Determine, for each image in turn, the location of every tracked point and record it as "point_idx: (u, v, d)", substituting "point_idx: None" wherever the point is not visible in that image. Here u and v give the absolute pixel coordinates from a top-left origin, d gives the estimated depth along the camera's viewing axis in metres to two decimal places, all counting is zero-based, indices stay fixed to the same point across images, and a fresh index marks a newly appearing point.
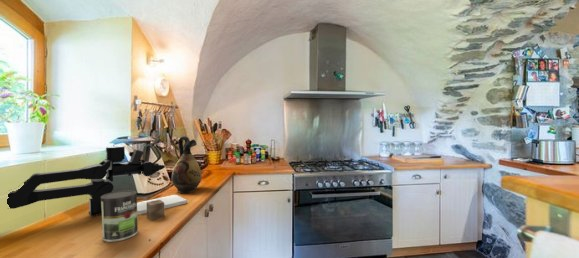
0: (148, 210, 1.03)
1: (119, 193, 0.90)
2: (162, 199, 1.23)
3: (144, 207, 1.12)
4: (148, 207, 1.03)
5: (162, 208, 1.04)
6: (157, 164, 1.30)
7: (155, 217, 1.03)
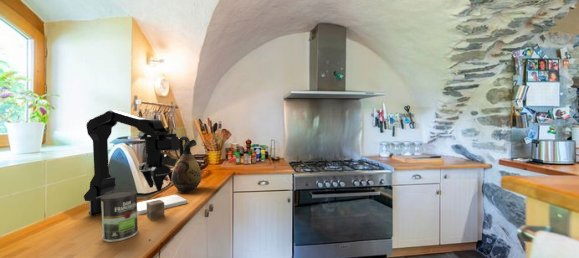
0: (148, 210, 1.03)
1: (119, 193, 0.90)
2: (162, 199, 1.23)
3: (144, 207, 1.12)
4: (148, 207, 1.03)
5: (162, 208, 1.04)
6: (151, 186, 1.08)
7: (155, 217, 1.03)
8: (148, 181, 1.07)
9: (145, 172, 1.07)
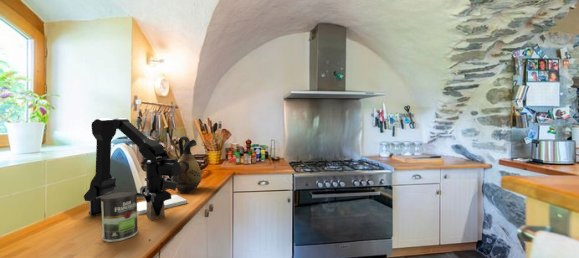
0: (148, 210, 1.03)
1: (119, 193, 0.90)
2: None
3: (144, 207, 1.12)
4: (148, 207, 1.03)
5: (162, 208, 1.04)
6: None
7: (155, 217, 1.03)
8: None
9: (147, 197, 1.06)
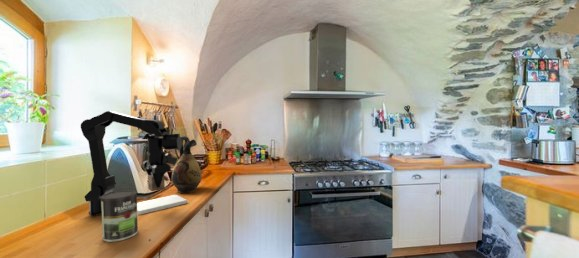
0: (149, 182, 1.10)
1: (119, 193, 0.90)
2: (162, 199, 1.23)
3: (144, 207, 1.12)
4: (149, 179, 1.10)
5: (162, 180, 1.11)
6: None
7: (156, 188, 1.09)
8: None
9: (149, 170, 1.12)
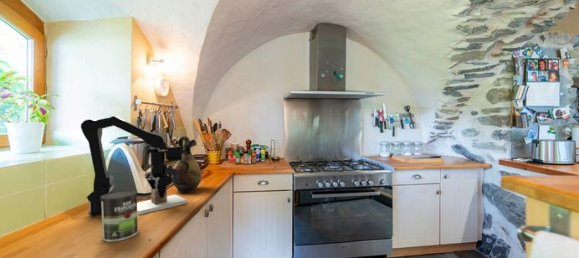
0: (152, 196, 1.17)
1: (119, 193, 0.90)
2: None
3: (144, 207, 1.12)
4: (152, 193, 1.17)
5: (165, 194, 1.18)
6: None
7: (159, 202, 1.17)
8: None
9: (151, 181, 1.20)
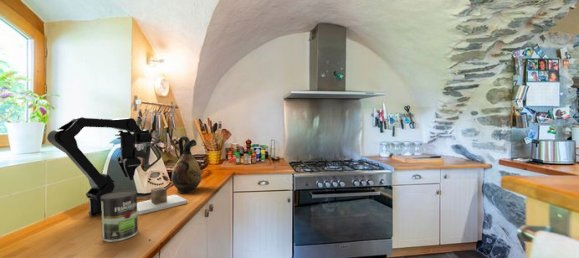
0: (152, 196, 1.17)
1: (119, 193, 0.90)
2: None
3: (144, 207, 1.12)
4: (152, 193, 1.17)
5: (165, 194, 1.18)
6: (127, 175, 1.25)
7: (159, 202, 1.17)
8: (124, 171, 1.24)
9: (121, 163, 1.24)
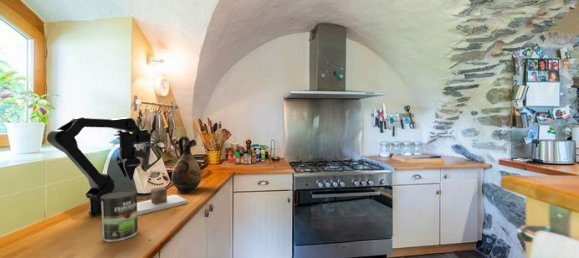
0: (152, 196, 1.17)
1: (119, 193, 0.90)
2: None
3: (144, 207, 1.12)
4: (152, 193, 1.17)
5: (165, 194, 1.18)
6: (126, 175, 1.25)
7: (159, 202, 1.17)
8: (123, 171, 1.24)
9: (120, 163, 1.24)
